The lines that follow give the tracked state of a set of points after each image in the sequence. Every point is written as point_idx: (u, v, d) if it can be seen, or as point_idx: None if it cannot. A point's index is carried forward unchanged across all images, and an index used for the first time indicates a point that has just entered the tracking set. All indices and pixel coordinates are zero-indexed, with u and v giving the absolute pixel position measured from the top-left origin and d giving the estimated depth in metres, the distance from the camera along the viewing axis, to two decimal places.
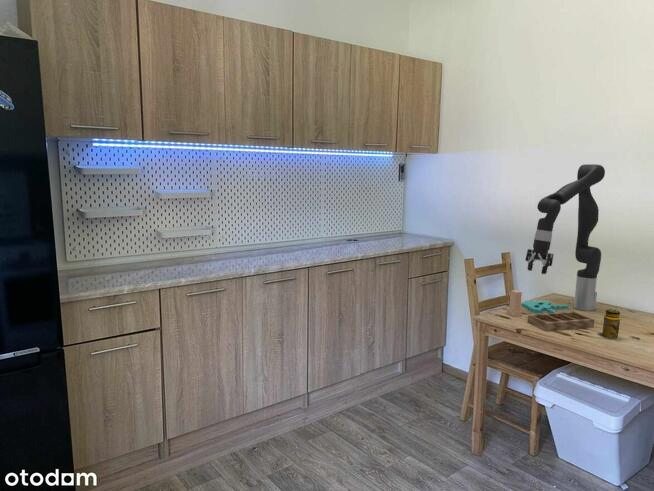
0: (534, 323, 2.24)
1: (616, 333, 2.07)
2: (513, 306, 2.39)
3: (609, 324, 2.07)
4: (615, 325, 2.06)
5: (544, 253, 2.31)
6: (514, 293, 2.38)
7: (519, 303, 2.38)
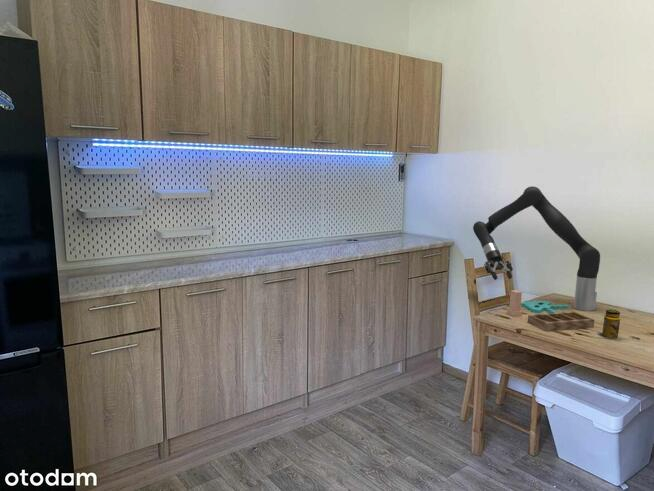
0: (534, 323, 2.24)
1: (616, 333, 2.07)
2: (513, 306, 2.39)
3: (609, 324, 2.07)
4: (615, 325, 2.06)
5: None
6: (514, 293, 2.38)
7: (519, 303, 2.38)
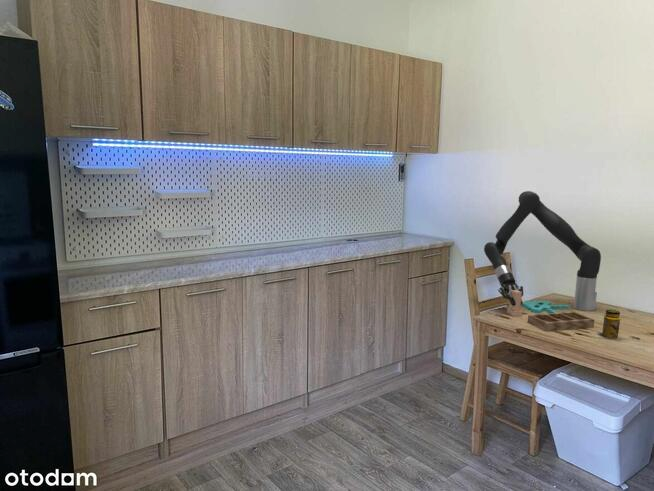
0: (534, 323, 2.24)
1: (616, 333, 2.07)
2: (513, 306, 2.39)
3: (609, 324, 2.07)
4: (615, 325, 2.06)
5: None
6: (514, 293, 2.38)
7: (519, 303, 2.38)
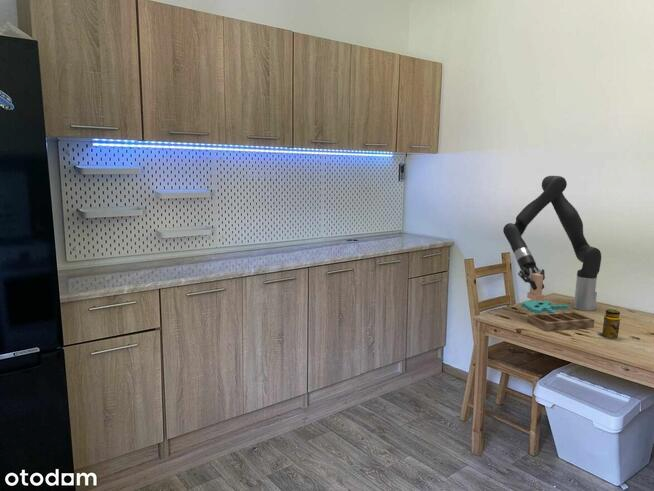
0: (534, 323, 2.24)
1: (616, 333, 2.07)
2: (534, 290, 2.27)
3: (609, 324, 2.07)
4: (615, 325, 2.06)
5: None
6: (535, 277, 2.25)
7: (540, 287, 2.26)
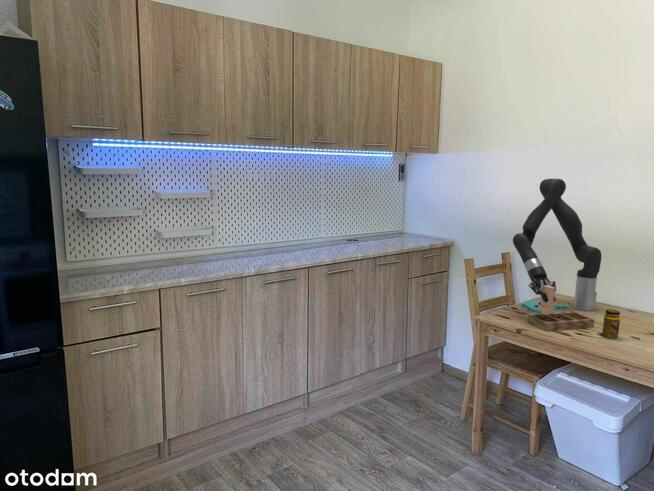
0: (534, 323, 2.24)
1: (616, 333, 2.07)
2: (545, 302, 2.21)
3: (609, 324, 2.07)
4: (615, 325, 2.06)
5: None
6: (547, 289, 2.19)
7: (552, 299, 2.20)
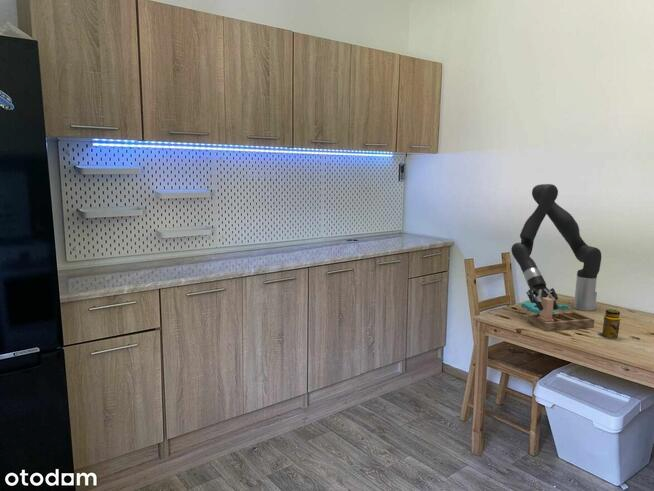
0: (534, 323, 2.24)
1: (616, 333, 2.07)
2: (544, 314, 2.22)
3: (609, 324, 2.07)
4: (615, 325, 2.06)
5: None
6: (546, 301, 2.20)
7: (551, 311, 2.21)
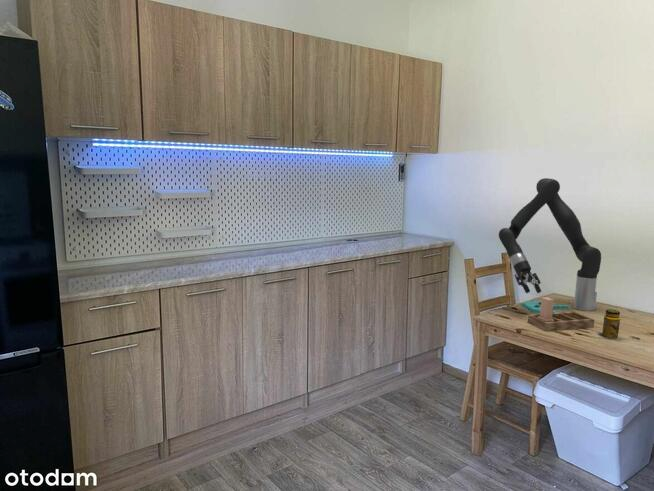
0: (534, 323, 2.24)
1: (616, 333, 2.07)
2: (544, 314, 2.22)
3: (609, 324, 2.07)
4: (615, 325, 2.06)
5: None
6: (546, 301, 2.20)
7: (551, 311, 2.21)
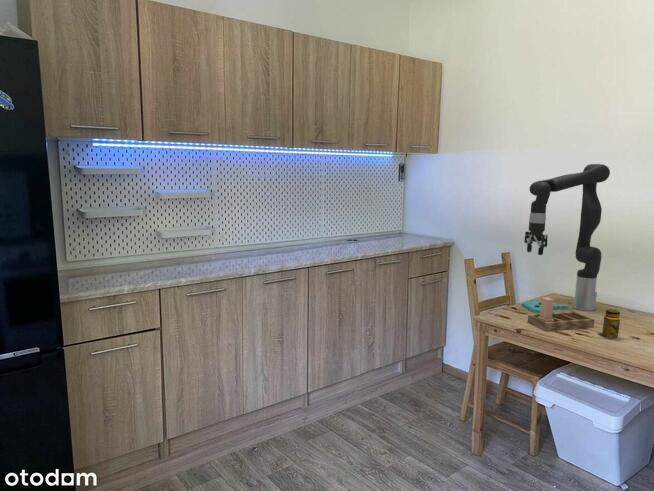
0: (534, 323, 2.24)
1: (616, 333, 2.07)
2: (544, 314, 2.22)
3: (609, 324, 2.07)
4: (615, 325, 2.06)
5: (539, 235, 2.38)
6: (546, 301, 2.20)
7: (551, 311, 2.21)
